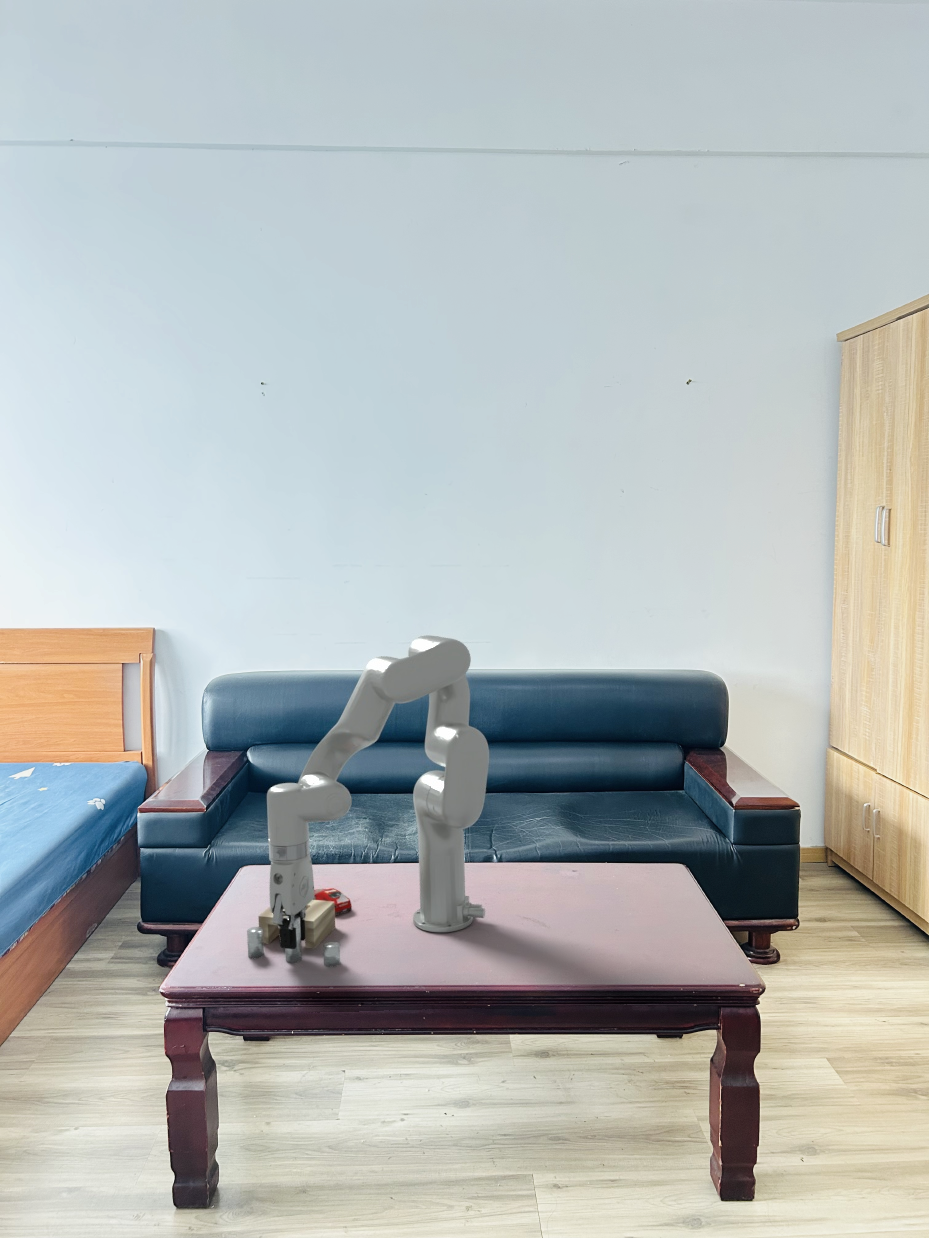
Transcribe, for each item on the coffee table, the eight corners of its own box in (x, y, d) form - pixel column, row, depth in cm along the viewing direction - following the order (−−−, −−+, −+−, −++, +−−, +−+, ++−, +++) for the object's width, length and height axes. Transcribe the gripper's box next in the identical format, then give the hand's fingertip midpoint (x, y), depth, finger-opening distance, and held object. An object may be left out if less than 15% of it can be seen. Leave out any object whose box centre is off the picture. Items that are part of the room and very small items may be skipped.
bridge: (335, 927, 180) (334, 901, 179) (314, 948, 170) (313, 921, 170) (282, 922, 183) (281, 896, 183) (259, 942, 173) (258, 915, 173)
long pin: (304, 956, 167) (302, 915, 166) (297, 963, 164) (295, 922, 164) (290, 954, 168) (288, 914, 167) (282, 961, 165) (281, 920, 164)
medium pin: (266, 952, 169) (265, 927, 169) (259, 959, 166) (258, 933, 166) (253, 950, 170) (251, 926, 170) (245, 957, 167) (244, 932, 167)
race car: (302, 902, 194) (301, 885, 194) (323, 896, 198) (322, 879, 198) (333, 919, 184) (332, 901, 184) (355, 912, 188) (354, 894, 188)
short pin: (342, 960, 165) (342, 942, 165) (336, 967, 162) (335, 949, 162) (328, 959, 166) (327, 941, 165) (321, 966, 163) (320, 948, 163)
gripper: (287, 865, 156) (291, 965, 157) (325, 837, 171) (328, 927, 173) (249, 862, 158) (254, 960, 159) (291, 834, 173) (294, 924, 175)
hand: (292, 942), depth 166 cm, fingers closed on long pin, 3 cm apart
